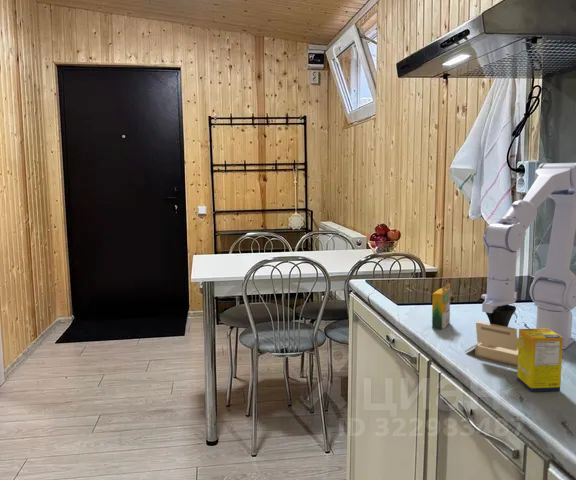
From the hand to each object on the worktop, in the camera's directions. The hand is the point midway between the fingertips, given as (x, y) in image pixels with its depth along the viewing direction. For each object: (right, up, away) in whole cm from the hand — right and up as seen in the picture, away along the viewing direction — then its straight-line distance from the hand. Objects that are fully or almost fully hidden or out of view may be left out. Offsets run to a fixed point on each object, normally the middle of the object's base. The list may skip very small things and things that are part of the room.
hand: (498, 337), depth 113 cm
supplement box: (+3, -7, -12) cm, 15 cm away
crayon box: (-5, -2, +27) cm, 28 cm away
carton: (+5, -5, +6) cm, 9 cm away
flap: (-1, +1, -1) cm, 1 cm away
